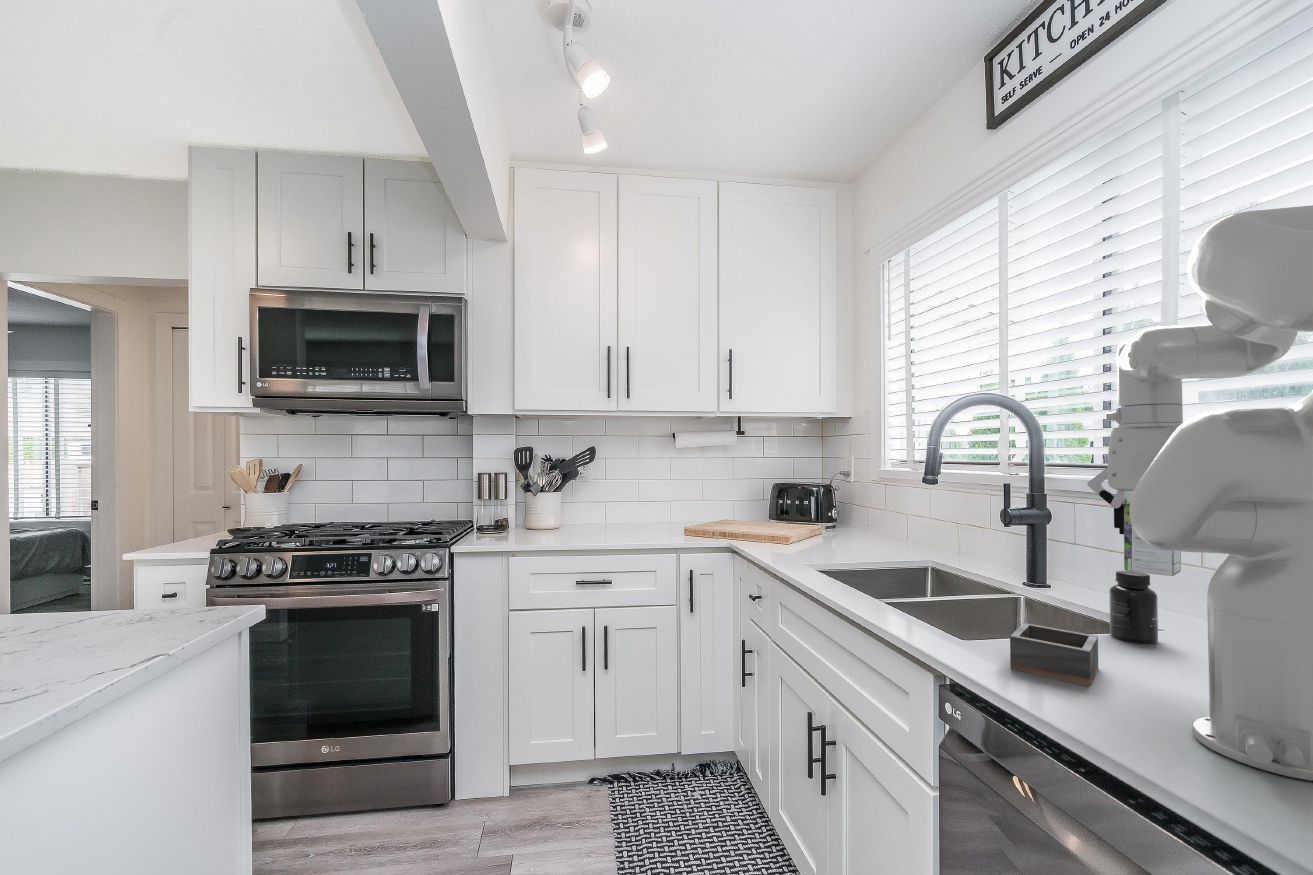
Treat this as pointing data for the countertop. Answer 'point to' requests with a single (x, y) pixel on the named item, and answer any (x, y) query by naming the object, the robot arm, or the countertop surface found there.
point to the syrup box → (1146, 550)
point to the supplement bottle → (1133, 608)
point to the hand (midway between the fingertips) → (1152, 534)
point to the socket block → (1054, 653)
